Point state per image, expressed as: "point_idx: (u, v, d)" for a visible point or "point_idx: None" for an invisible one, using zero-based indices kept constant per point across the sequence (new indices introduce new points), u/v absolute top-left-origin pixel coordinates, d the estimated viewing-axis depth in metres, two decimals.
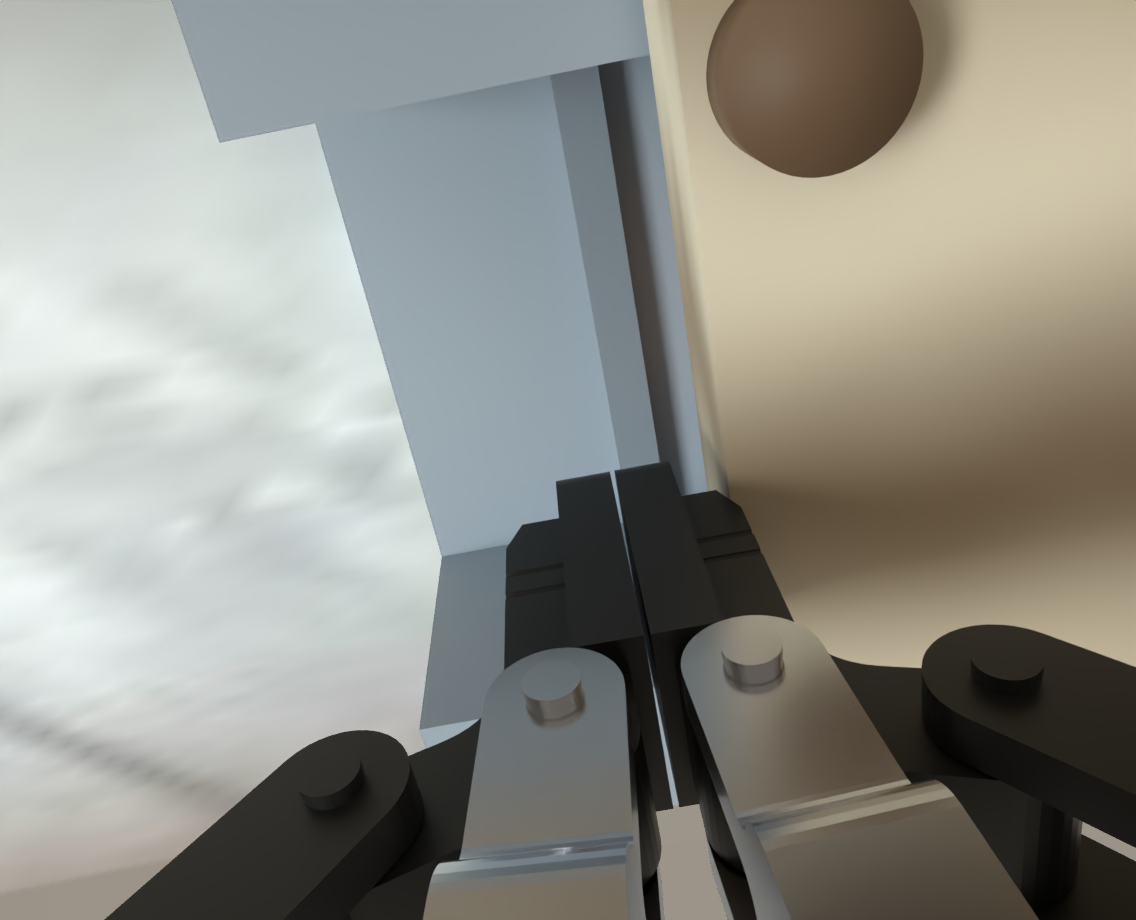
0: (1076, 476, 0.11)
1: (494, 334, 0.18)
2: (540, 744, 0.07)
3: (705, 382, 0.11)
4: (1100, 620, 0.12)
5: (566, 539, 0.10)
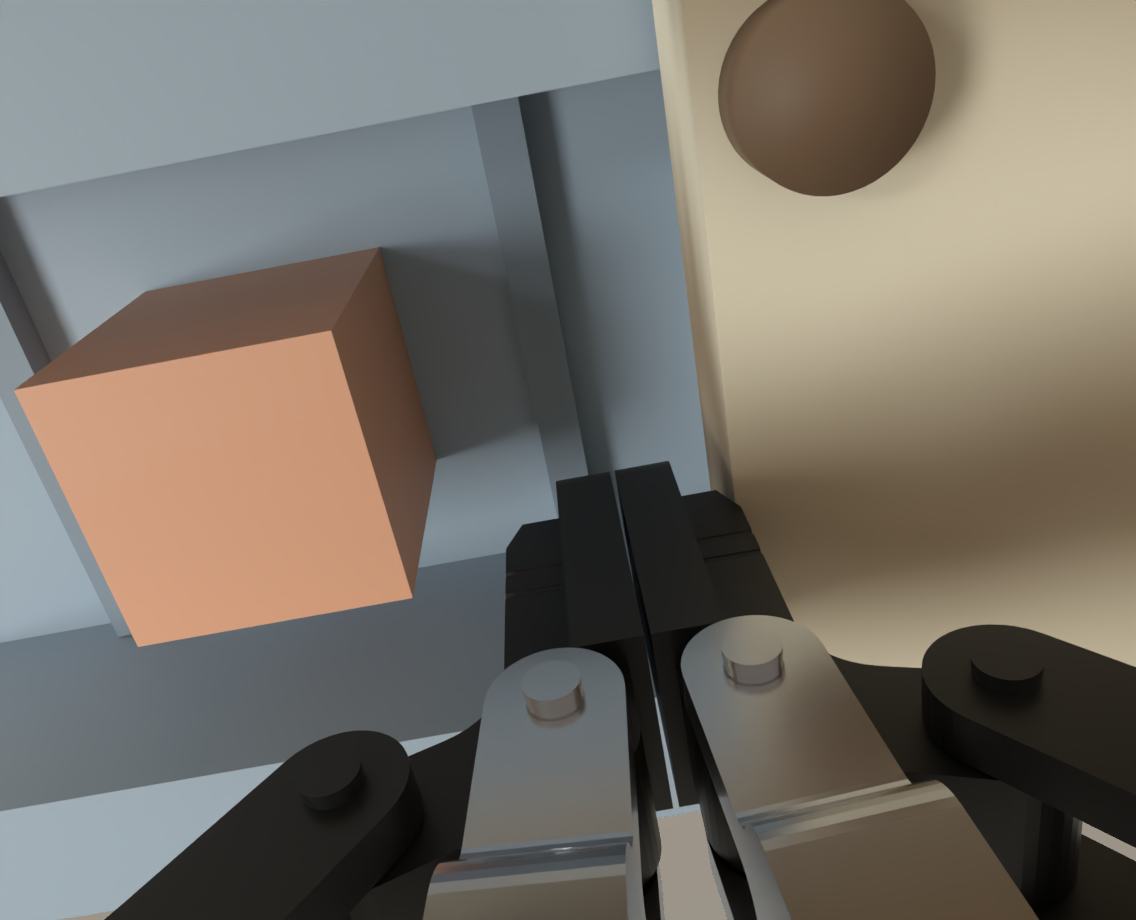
0: (1081, 492, 0.11)
1: None
2: (540, 744, 0.07)
3: (712, 396, 0.11)
4: (1104, 635, 0.12)
5: (566, 539, 0.10)
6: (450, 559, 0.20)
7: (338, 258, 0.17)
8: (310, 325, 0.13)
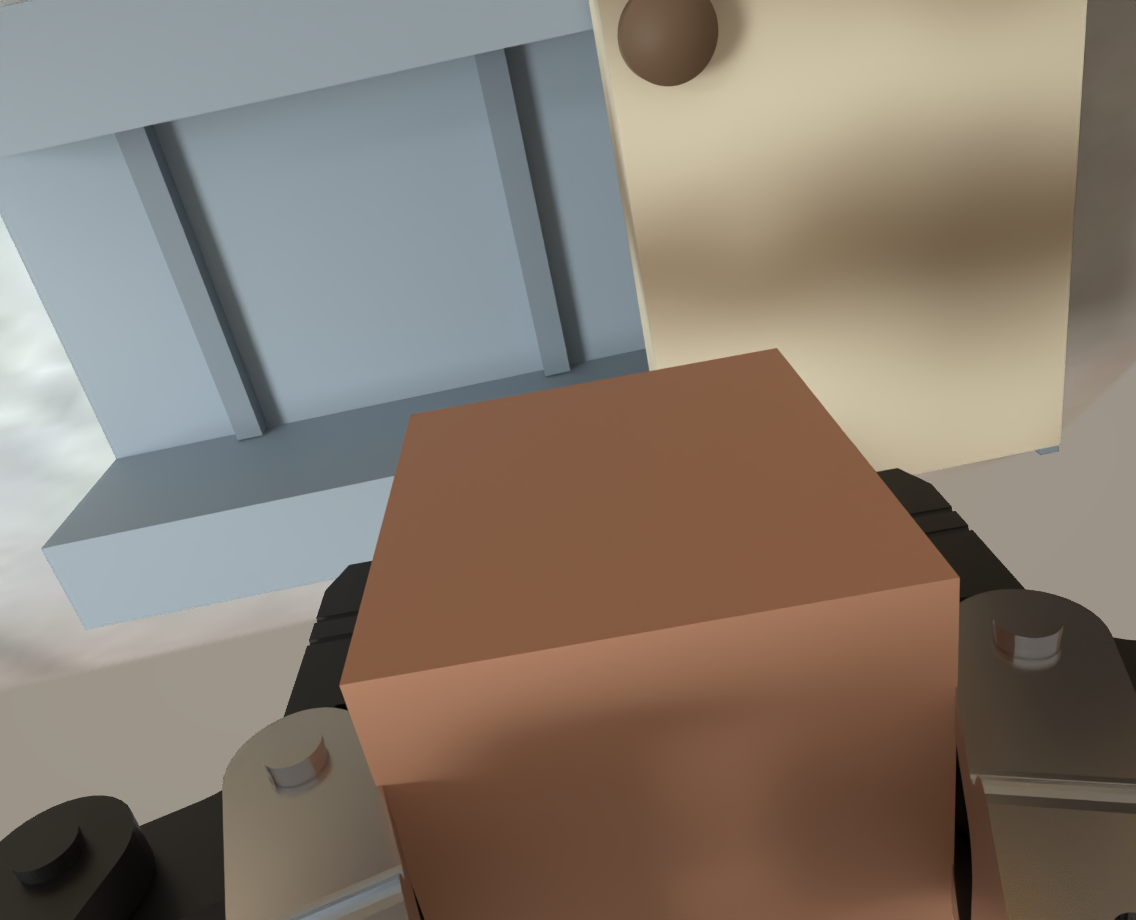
0: (833, 260, 0.20)
1: (122, 303, 0.27)
2: (265, 813, 0.07)
3: (628, 211, 0.20)
4: (859, 353, 0.21)
5: None
6: (465, 383, 0.29)
7: (721, 366, 0.11)
8: (886, 554, 0.07)
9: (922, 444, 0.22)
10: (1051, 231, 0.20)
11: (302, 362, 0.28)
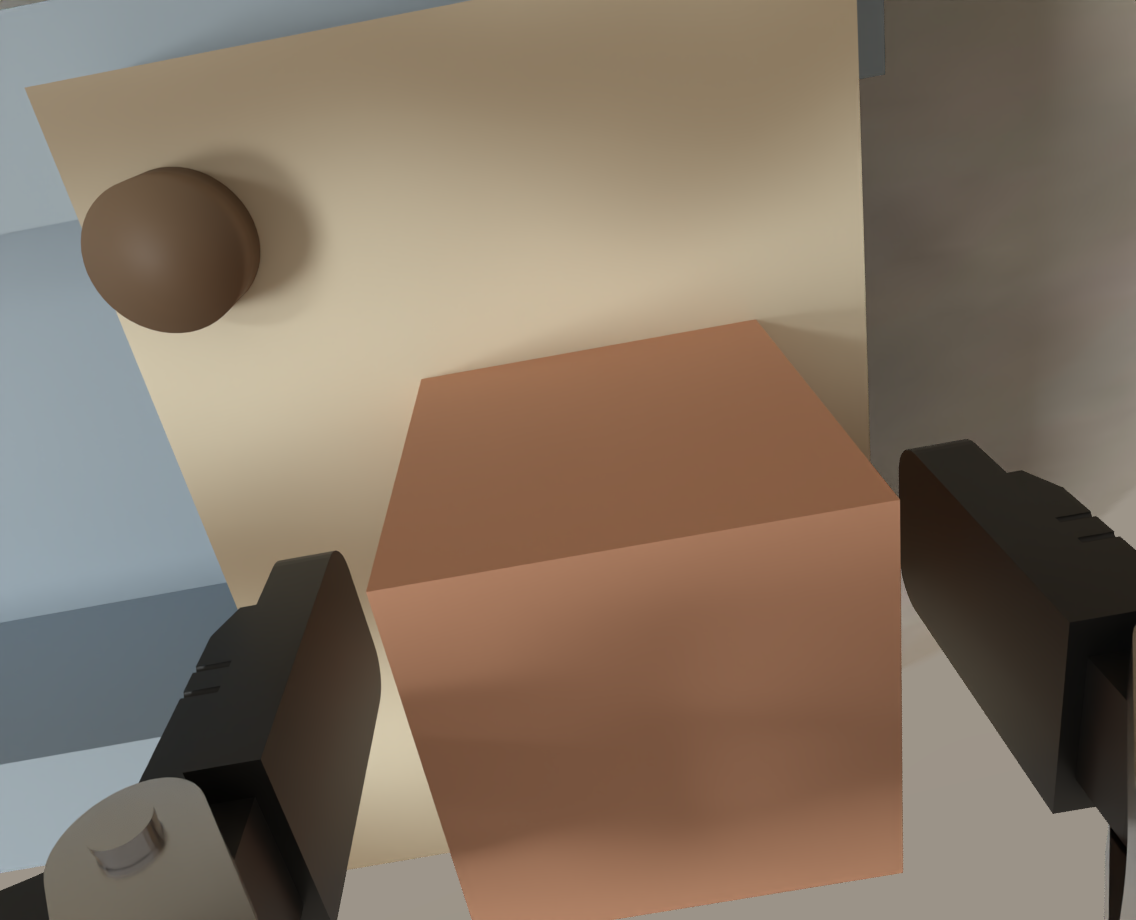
0: None
1: None
2: (80, 900, 0.07)
3: None
4: None
5: (248, 634, 0.09)
6: (166, 590, 0.22)
7: (704, 335, 0.12)
8: (838, 484, 0.08)
9: None
10: None
11: None
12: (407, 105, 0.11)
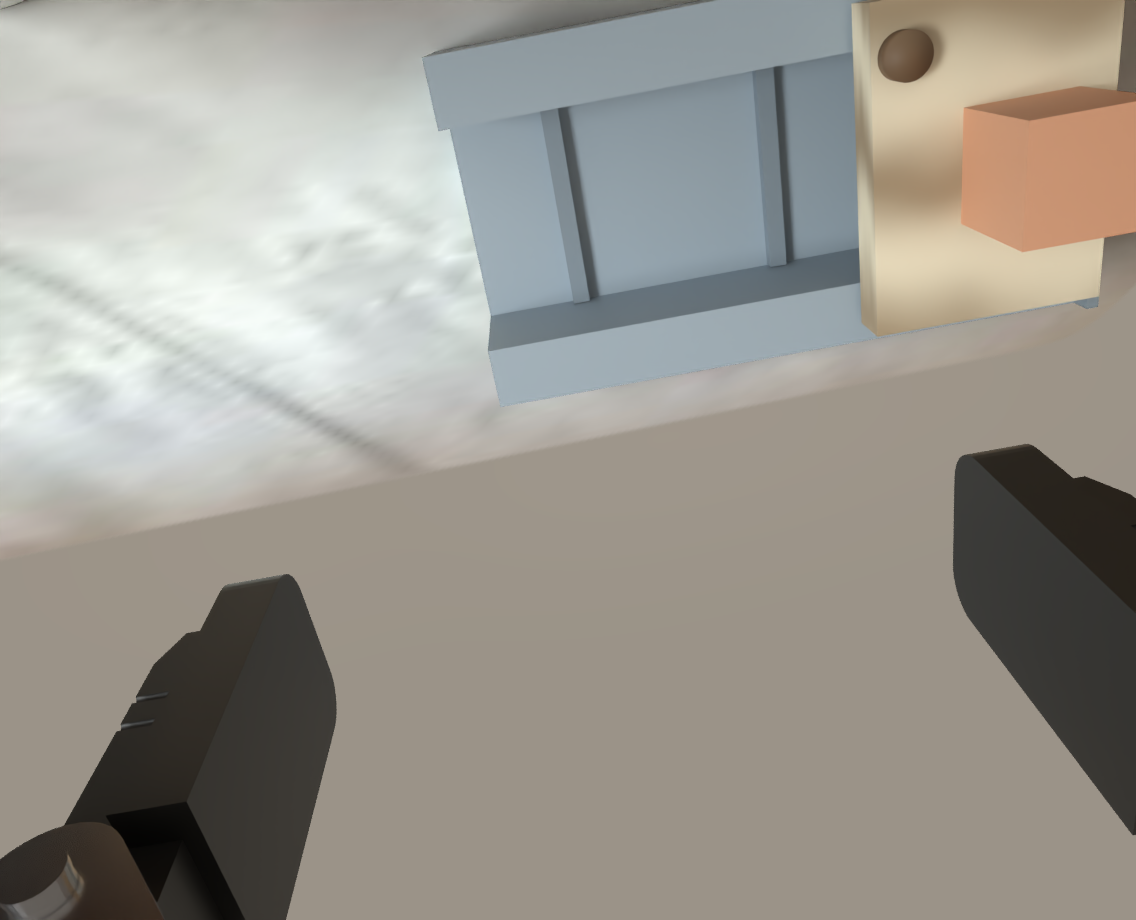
0: None
1: (515, 212, 0.43)
2: None
3: (865, 151, 0.36)
4: None
5: (188, 664, 0.09)
6: (717, 272, 0.45)
7: (1065, 90, 0.35)
8: None
9: (1019, 293, 0.38)
10: None
11: (617, 255, 0.45)
12: (983, 9, 0.34)
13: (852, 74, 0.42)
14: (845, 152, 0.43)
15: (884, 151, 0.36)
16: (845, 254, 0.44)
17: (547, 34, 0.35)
